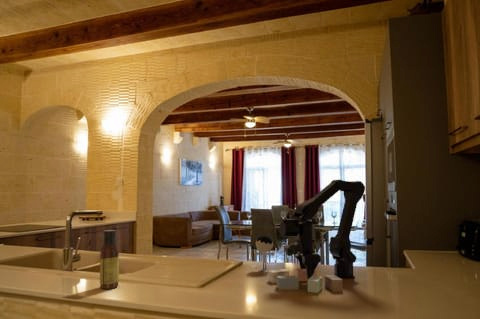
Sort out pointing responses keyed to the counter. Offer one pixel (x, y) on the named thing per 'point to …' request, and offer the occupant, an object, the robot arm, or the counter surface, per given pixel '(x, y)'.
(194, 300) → the counter surface
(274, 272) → the birch block
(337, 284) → the walnut block
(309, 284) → the sage block
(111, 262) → the sauce bottle
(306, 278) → the terracotta block
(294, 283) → the slate block
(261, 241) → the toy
